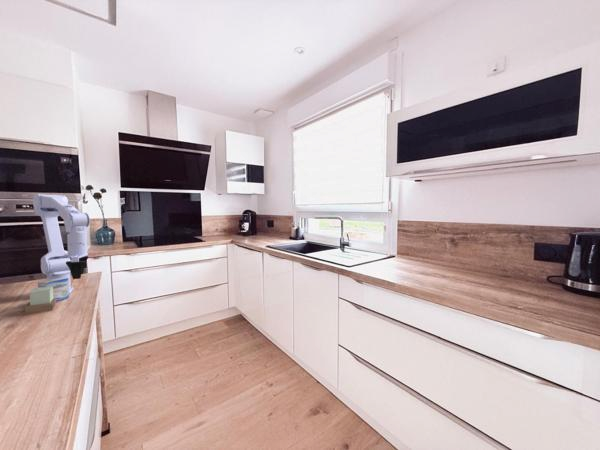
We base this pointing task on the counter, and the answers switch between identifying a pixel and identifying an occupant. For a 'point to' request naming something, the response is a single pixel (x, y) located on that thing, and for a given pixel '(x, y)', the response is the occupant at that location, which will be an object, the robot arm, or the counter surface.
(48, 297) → the sage cube
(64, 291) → the medicine box
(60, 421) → the counter surface
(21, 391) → the counter surface
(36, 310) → the walnut block
